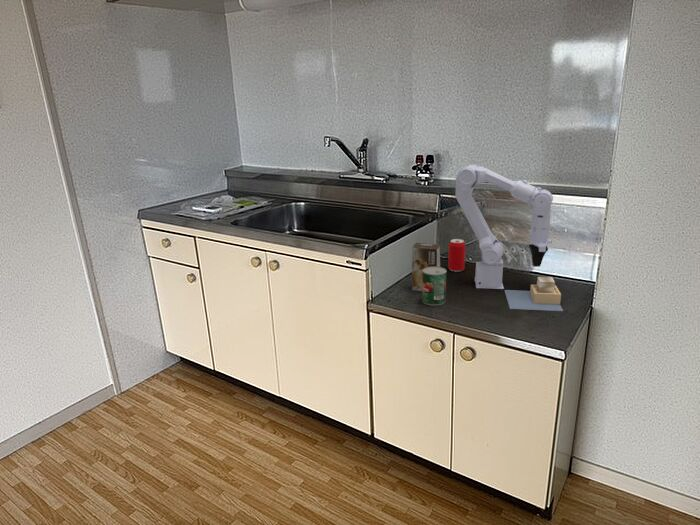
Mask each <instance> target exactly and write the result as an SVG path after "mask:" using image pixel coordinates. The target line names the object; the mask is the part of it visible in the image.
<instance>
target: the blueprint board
mask: <svg viewBox="0 0 700 525" xmlns="http://www.w3.org/2000/svg"><path fill="white" fill-rule="evenodd" d="M504 293H505V296H506V301H507V303H508V307H509V309H510V310H530V311H533V310H534V311H547V312H548V311H552V312H555V311H556V312H564V309H563V308H562V306H561V299H562V293H561V291H560V290H559V288H558V287H557V285H556V284H555V286H554V294H553V293H538V292H537V284H530V290H516V289H513V290H512V289H504Z"/></svg>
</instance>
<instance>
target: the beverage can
mask: <svg viewBox="0 0 700 525" xmlns="http://www.w3.org/2000/svg"><path fill="white" fill-rule="evenodd" d="M465 261H466V243H465V240H464V239H460V238H454V239H453V238H452V239H450V241H449V244H448V264H447V268H448V270H449V271H451V272H453V271H454V273H460V272H462V271H464V270H465Z"/></svg>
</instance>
